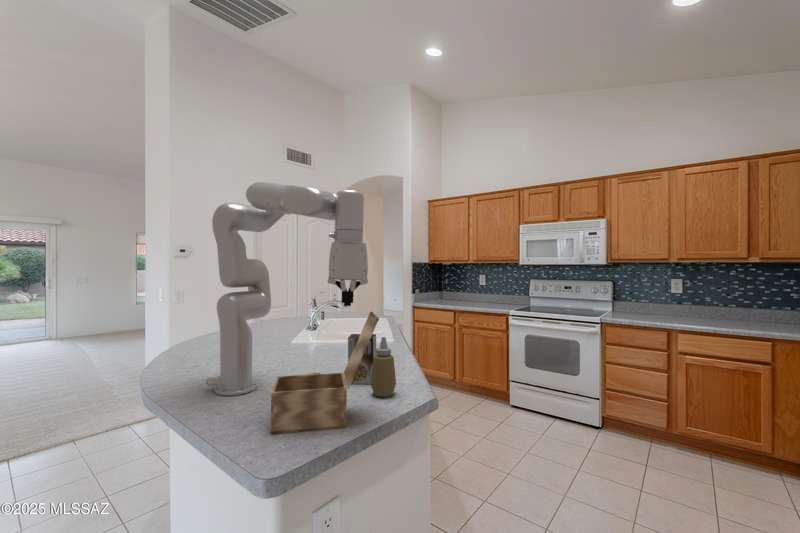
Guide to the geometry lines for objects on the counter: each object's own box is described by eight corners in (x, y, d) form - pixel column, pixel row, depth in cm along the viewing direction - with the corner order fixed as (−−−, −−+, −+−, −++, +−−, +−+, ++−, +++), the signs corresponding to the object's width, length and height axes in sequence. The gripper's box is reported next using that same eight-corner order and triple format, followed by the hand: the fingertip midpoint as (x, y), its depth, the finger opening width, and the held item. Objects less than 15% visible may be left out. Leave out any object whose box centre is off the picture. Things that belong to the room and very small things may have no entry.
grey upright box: (376, 379, 131) (377, 333, 131) (373, 385, 124) (373, 337, 124) (351, 378, 132) (351, 333, 132) (347, 383, 125) (347, 336, 125)
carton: (271, 434, 88) (271, 392, 88) (277, 412, 101) (277, 376, 101) (346, 427, 92) (346, 387, 92) (343, 407, 105) (343, 372, 105)
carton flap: (377, 317, 94) (379, 318, 94) (370, 311, 106) (372, 312, 106) (346, 387, 92) (349, 388, 92) (343, 372, 105) (345, 373, 105)
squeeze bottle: (386, 401, 110) (387, 341, 110) (365, 395, 114) (365, 338, 114) (401, 393, 117) (401, 336, 117) (380, 388, 121) (380, 333, 121)
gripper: (320, 235, 93) (318, 307, 93) (378, 237, 96) (376, 307, 97) (320, 237, 100) (318, 304, 101) (374, 239, 104) (372, 304, 104)
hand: (347, 305), depth 99 cm, fingers closed
